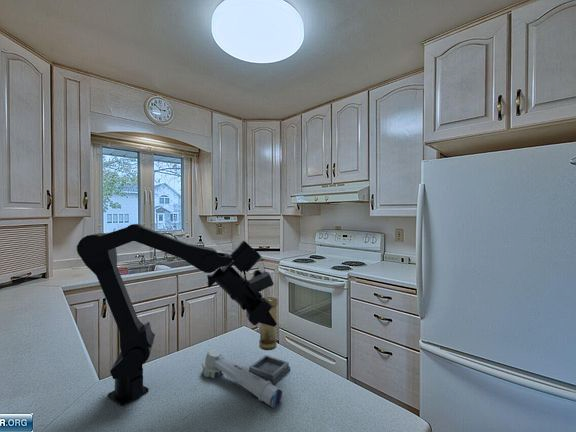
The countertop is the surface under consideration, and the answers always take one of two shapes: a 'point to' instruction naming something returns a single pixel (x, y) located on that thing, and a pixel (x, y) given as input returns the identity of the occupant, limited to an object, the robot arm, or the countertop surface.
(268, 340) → the brass domed cylinder
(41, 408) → the countertop surface
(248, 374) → the white long piece
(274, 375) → the shallow square tray
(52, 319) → the countertop surface
